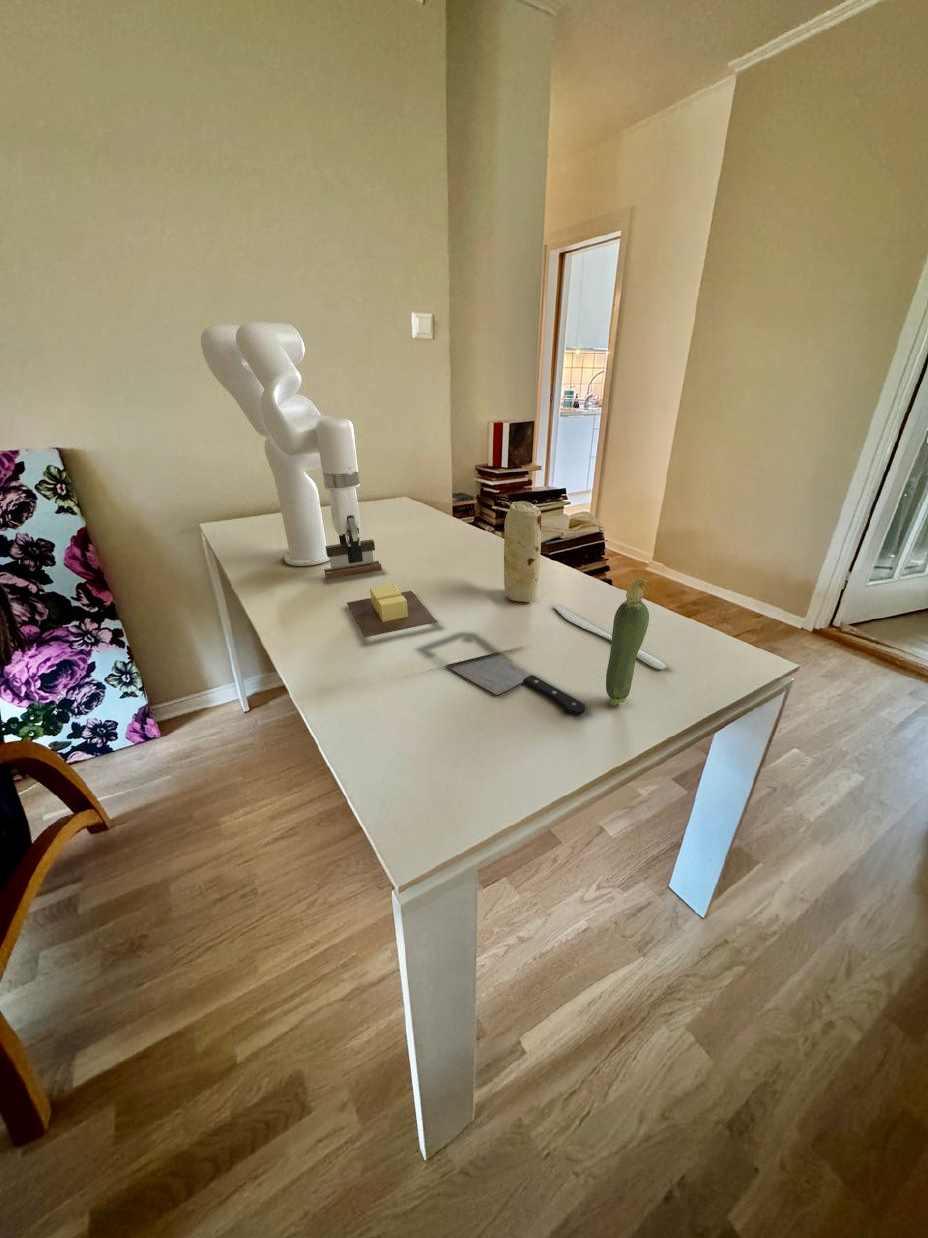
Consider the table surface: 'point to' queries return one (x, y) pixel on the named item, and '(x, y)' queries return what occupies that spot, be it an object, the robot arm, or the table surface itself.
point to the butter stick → (383, 594)
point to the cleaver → (510, 679)
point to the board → (375, 626)
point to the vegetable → (626, 642)
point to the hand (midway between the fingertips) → (351, 555)
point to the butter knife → (590, 627)
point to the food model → (522, 551)
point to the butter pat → (392, 608)
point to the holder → (352, 571)
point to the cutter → (341, 558)
